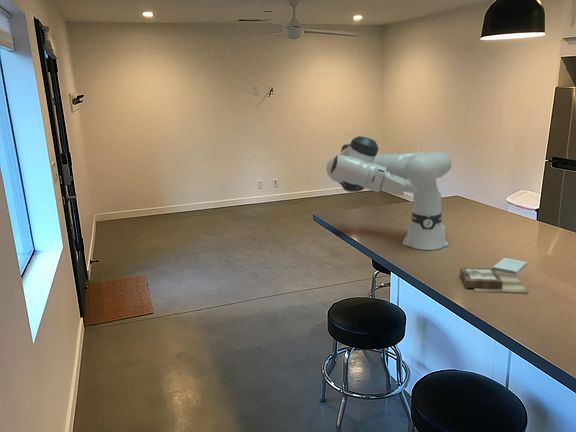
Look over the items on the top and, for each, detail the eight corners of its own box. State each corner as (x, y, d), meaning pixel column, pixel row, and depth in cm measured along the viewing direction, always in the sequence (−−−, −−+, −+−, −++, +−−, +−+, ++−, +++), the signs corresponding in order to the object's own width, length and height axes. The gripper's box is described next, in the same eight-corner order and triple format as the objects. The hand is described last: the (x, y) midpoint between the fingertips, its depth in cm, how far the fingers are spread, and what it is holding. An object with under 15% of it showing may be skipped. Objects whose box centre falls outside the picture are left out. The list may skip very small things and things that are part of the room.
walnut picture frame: (460, 267, 164) (493, 268, 162) (459, 274, 165) (493, 275, 163) (466, 280, 153) (502, 281, 151) (466, 287, 153) (502, 289, 151)
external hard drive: (492, 270, 170) (503, 261, 178) (516, 275, 164) (526, 265, 173) (492, 266, 169) (503, 257, 178) (516, 271, 164) (527, 261, 173)
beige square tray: (465, 273, 166) (465, 272, 166) (513, 275, 164) (513, 274, 163) (474, 291, 151) (475, 290, 151) (528, 293, 148) (528, 292, 148)
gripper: (376, 183, 169) (413, 195, 167) (373, 190, 149) (415, 204, 147) (381, 167, 168) (419, 178, 165) (379, 172, 148) (422, 185, 146)
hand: (417, 191), depth 156 cm, fingers closed
